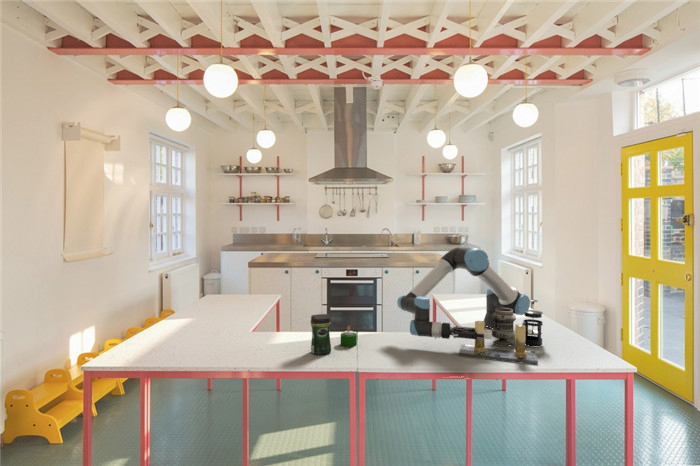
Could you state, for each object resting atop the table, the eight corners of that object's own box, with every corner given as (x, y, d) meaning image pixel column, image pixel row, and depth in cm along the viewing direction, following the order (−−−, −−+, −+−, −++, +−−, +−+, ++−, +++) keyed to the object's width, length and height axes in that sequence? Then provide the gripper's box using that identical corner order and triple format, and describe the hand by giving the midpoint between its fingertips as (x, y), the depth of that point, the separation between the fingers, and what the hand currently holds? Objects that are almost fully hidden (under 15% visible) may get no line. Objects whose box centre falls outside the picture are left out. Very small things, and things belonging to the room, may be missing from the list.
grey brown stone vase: (504, 348, 207) (504, 312, 206) (485, 342, 217) (486, 308, 217) (520, 345, 212) (521, 310, 212) (502, 339, 223) (502, 305, 222)
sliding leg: (473, 353, 194) (473, 324, 194) (474, 348, 202) (474, 320, 202) (484, 354, 193) (484, 325, 192) (485, 349, 201) (485, 321, 200)
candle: (343, 341, 218) (343, 322, 218) (358, 343, 215) (358, 324, 215) (338, 346, 210) (338, 326, 210) (353, 348, 207) (353, 328, 207)
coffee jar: (328, 349, 205) (328, 312, 205) (332, 354, 198) (332, 315, 197) (309, 351, 203) (309, 313, 202) (312, 356, 195) (312, 317, 194)
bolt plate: (458, 355, 196) (459, 324, 195) (461, 347, 209) (461, 317, 208) (537, 364, 184) (538, 330, 184) (535, 354, 197) (535, 323, 197)
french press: (532, 340, 220) (533, 297, 219) (547, 345, 211) (548, 300, 210) (516, 343, 215) (516, 299, 214) (530, 348, 207) (531, 302, 206)
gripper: (443, 333, 213) (491, 337, 205) (439, 342, 197) (491, 348, 189) (443, 318, 213) (492, 322, 205) (439, 327, 197) (491, 331, 189)
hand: (491, 334), depth 197 cm, fingers closed on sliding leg, 4 cm apart
